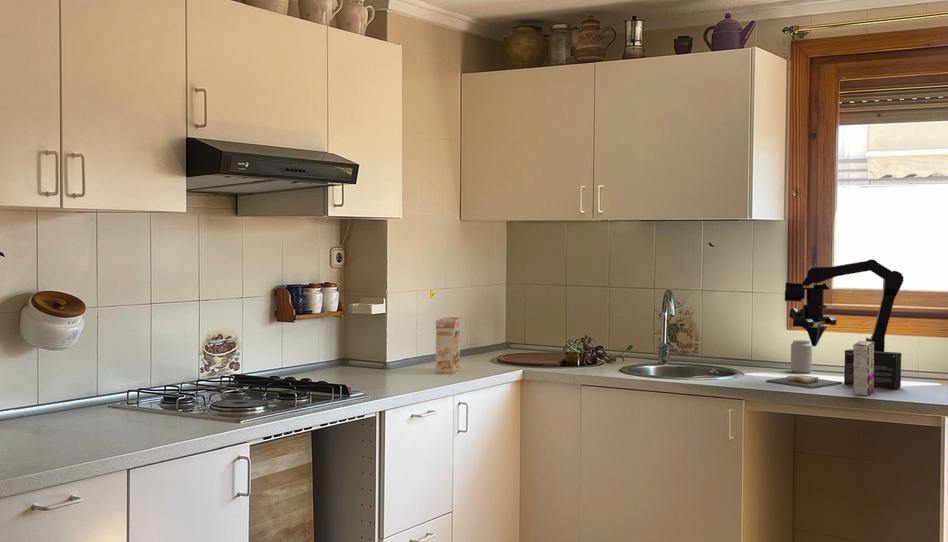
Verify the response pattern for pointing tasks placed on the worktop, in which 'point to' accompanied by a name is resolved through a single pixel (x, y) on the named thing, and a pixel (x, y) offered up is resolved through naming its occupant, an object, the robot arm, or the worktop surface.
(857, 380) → the candy bar box
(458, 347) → the coffeecake box
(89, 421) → the worktop surface
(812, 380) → the tile
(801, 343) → the can
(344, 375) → the worktop surface
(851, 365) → the box
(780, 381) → the mat
